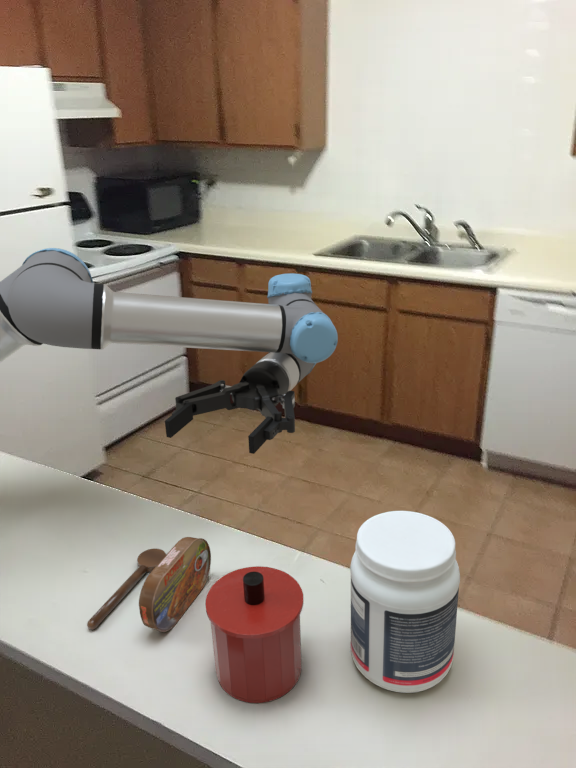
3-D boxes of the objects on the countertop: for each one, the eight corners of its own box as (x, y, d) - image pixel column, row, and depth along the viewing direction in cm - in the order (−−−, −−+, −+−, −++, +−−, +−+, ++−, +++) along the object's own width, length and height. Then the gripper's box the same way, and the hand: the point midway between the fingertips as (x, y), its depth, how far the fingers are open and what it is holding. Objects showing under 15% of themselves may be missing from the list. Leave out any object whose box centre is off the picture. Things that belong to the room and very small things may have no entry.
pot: (201, 687, 81) (193, 621, 77) (240, 627, 90) (235, 564, 86) (281, 714, 77) (277, 646, 73) (313, 648, 86) (312, 584, 82)
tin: (159, 645, 87) (151, 595, 84) (139, 639, 89) (131, 589, 85) (214, 574, 100) (210, 527, 97) (196, 569, 101) (191, 523, 98)
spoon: (103, 636, 89) (101, 628, 89) (76, 627, 91) (75, 619, 90) (172, 557, 104) (171, 550, 103) (148, 551, 106) (147, 544, 105)
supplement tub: (467, 643, 86) (479, 525, 79) (429, 717, 76) (439, 590, 69) (376, 607, 93) (379, 495, 85) (331, 670, 83) (330, 550, 75)
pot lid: (187, 626, 77) (184, 598, 75) (233, 565, 87) (231, 538, 85) (280, 654, 73) (278, 625, 71) (317, 586, 82) (317, 559, 81)
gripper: (339, 411, 110) (289, 475, 93) (206, 390, 119) (138, 445, 102) (339, 369, 107) (287, 427, 90) (203, 351, 116) (132, 400, 99)
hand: (208, 437), depth 96 cm, fingers open, 13 cm apart
